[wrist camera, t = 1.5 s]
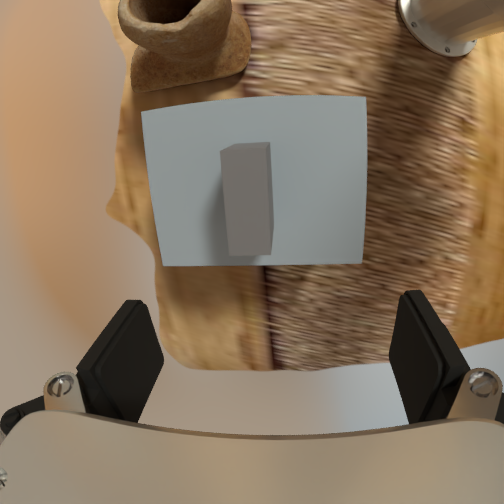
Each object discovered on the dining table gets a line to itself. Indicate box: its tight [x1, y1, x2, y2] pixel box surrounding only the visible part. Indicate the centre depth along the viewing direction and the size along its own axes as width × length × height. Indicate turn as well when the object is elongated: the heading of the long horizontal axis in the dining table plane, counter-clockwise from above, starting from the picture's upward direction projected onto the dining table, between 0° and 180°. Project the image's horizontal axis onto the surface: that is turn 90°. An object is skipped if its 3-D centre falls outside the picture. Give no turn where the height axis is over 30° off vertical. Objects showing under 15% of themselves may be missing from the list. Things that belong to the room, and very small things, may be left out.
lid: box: [141, 95, 367, 266], centre depth 23 cm, size 14×18×7 cm
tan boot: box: [118, 0, 251, 93], centre depth 25 cm, size 15×12×15 cm
